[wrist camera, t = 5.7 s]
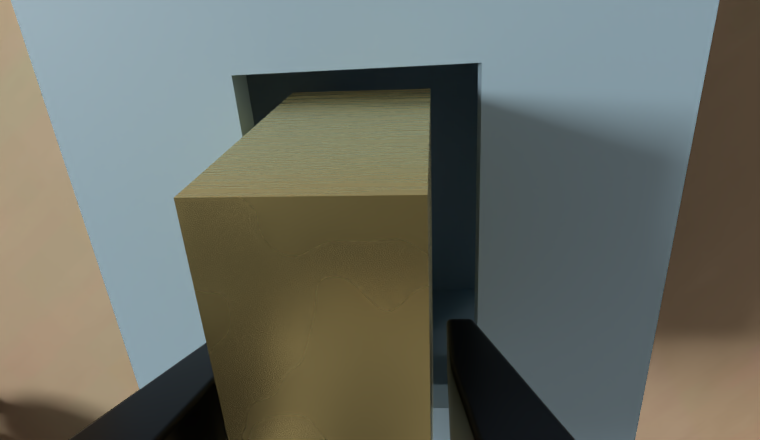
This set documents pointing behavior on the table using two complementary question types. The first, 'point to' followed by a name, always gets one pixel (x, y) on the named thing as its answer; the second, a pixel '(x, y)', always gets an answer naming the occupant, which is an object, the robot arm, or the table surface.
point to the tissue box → (448, 160)
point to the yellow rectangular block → (319, 269)
